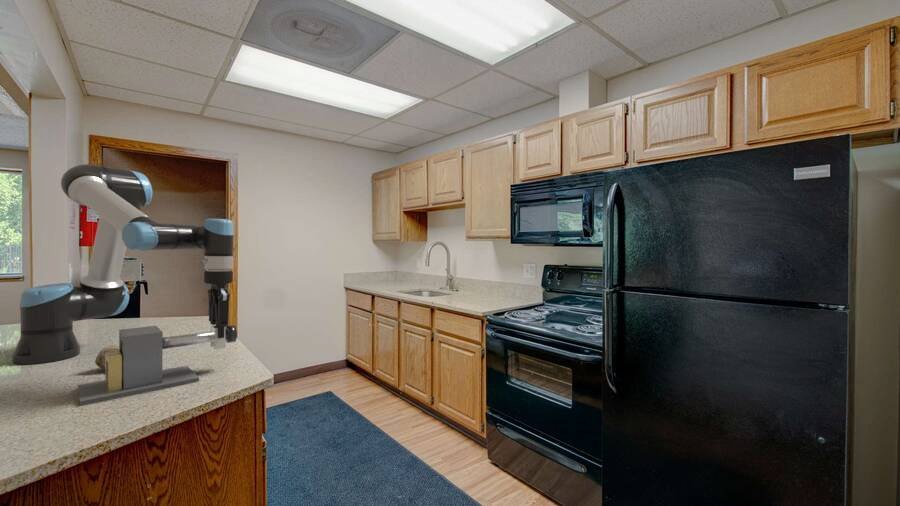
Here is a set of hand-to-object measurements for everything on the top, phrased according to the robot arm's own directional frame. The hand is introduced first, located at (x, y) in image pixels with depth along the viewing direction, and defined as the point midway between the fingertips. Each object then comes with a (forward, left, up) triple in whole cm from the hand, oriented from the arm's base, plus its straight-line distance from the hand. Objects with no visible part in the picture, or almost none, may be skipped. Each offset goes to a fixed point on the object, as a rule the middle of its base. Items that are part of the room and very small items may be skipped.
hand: (218, 346), depth 117 cm
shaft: (0, -8, +1) cm, 8 cm away
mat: (0, -18, -7) cm, 20 cm away
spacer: (0, -24, -6) cm, 25 cm away
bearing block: (0, -18, -7) cm, 20 cm away
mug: (-19, -21, -7) cm, 29 cm away
